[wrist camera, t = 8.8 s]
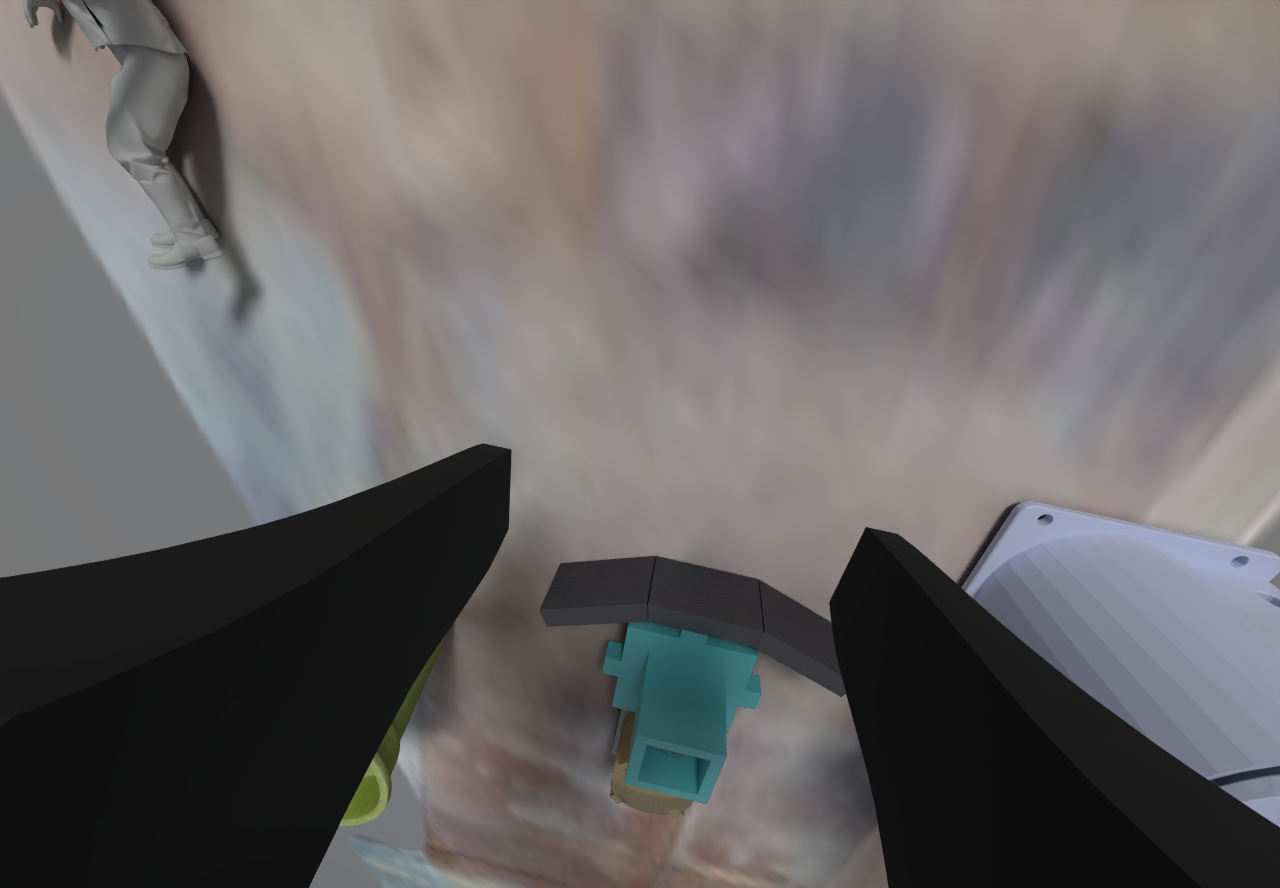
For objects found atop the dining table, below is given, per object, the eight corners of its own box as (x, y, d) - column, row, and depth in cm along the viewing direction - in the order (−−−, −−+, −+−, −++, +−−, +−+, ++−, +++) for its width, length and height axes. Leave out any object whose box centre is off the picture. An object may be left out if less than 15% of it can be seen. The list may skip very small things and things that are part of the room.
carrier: (855, 601, 22) (890, 703, 17) (764, 775, 28) (773, 880, 24) (563, 534, 22) (525, 616, 18) (543, 719, 29) (512, 811, 25)
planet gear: (778, 630, 22) (793, 739, 17) (737, 727, 25) (741, 838, 21) (617, 594, 22) (592, 691, 18) (599, 694, 26) (575, 796, 21)
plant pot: (509, 589, 25) (414, 763, 17) (452, 680, 29) (356, 852, 21) (343, 500, 23) (161, 643, 16) (309, 609, 28) (154, 764, 20)
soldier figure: (159, 227, 20) (-239, -297, 11) (286, 198, 21) (29, -270, 13) (153, 293, 15) (-540, -525, 6) (317, 248, 17) (-54, -432, 8)
